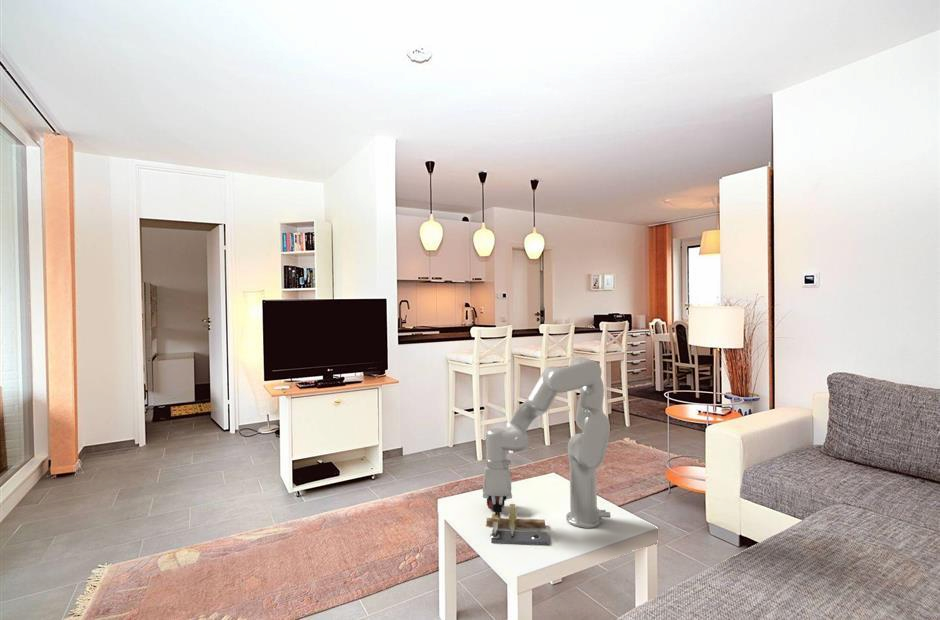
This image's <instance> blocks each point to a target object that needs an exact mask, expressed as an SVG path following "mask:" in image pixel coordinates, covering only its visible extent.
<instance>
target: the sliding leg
mask: <svg viewBox="0 0 940 620" xmlns="http://www.w3.org/2000/svg"><path fill="white" fill-rule="evenodd" d="M517 519H518V514H517V513H516V504H515V503H510V504H509V513H508V524H509V527H508V529H509V531H510V533H511V536H513V535H514V533H515V531H516V530H515V529H518V527H517Z"/></svg>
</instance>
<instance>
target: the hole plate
mask: <svg viewBox="0 0 940 620" xmlns="http://www.w3.org/2000/svg"><path fill="white" fill-rule="evenodd" d="M489 537H491V540H490V541H491V544H508V545H509V544H515V545H535V546H536V545H537V546H538V545H539V546H550V545H549V535H548V531H532V530H531V531H527V530H526V531H525V530H515V533H514V535H513V536H511V533H510V530H503V529H502V530H501V529H500V530H499V529H497V533H496V536H495V535H493V529H492V532H491V533H490V534H489Z"/></svg>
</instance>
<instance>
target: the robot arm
mask: <svg viewBox="0 0 940 620" xmlns="http://www.w3.org/2000/svg"><path fill="white" fill-rule="evenodd" d="M602 374H603V373H602V368H601V366H600V365H599V363H598V362H597V361H595V360H593V359H589V358H587V357H583V356H579V357H575V358H573V360H572V361H571V362H570V365H569V366H565V367H558V366H554V365H553V366H552V365H551V366H548V367H546V368H545V369H544V370H543V371H542V373H541V375H540V376H539V378H538V380H537V381H536V383H535V385H534V386H533V388H532V390H531V392H530V393H529V395H528V397H527V398H526V399H525V401H523V402H522V404H521V405H520V406H519V407H518V408H517V410H516V411H515V412H514V413H513V415H512V417H511V418H510V420H509V422H508V424H507V425H506V426H505V429H504V428H497V427H494V428H489V429H488V430H486V432H485V446H486V447H485V448H486V449H485V450H486V451H485V452H486V453H485V455H486V458H485V459H486V462H485V463H486V464H485V465H484V468H483V470H484V471H483V479H482V480H483V483H482V484H483V485H482V492H483V493H482V498H483V499H486V500H487V499H489V500H490V501H491V502H492V503H493V509H492V510H493V513H495V516H497V514H498V516H500V514H501V513H502V512H503V511H502V510H503V509H502V508H503V507H502V503H503V502H504V503H505V501H506V500H510V499H512V498H513V494H512V475H511V469H510V466H509V465H512V460H509V459H508V451H511V452H522V451H525V450H526V449H527V448H528V447H529V445H530V438H529V436H528V434H527V433H526V432H527V430H528V428H529V427H530V425H531V424H532V423H533V421H534V420H535V419H536V418H538V417H540V416H542V415H545V413H547V412H548V410H549V409H550V407H551V406H552V403H554V400H555V399H556V397H557V395H558V394H563V393H568V392H571V391H575V390H578V389H580V390H579V400H578V405H577V409H576V414H575V424H576V426H577V427H578V428H579V429H580V430H581V432H580V433H576V434H573V435H572V436H571V437H570V438H569V439H568V440H569V441H568V442H567V454H568V455H567V456H568V463H569V464H568V465H569V491H570V492H569V494H570V495H569V497H570V498H569V499H570V500H569V501H570V504H569V505H570V511H569V512H567V514H566V516H565V517H566V518H565V519H566V521H567V522H568V523H569V524H570V525H572V526H575V527H578V528H584V529H585V528H586V529H592V528H596V527H598V526H600V525H601V524H602V518H607V519H608V518H609V519H610V518H612V517H611V516H612V515H611V512H610V511H606V510H607V509H599V508H598V502H597V501H598V500H597V499H598V497H597V496H598V493H597V468H599V467H600V466H601V465H602V464H603V462H604V459H605V456H606V453H607V447H608V442H609V437H610V429H611V425H610V420H609V417H608V416H607V414H605V413H604V411H603V410H602V409H603V404H604V396H605V387H604V382H603V380H602V377H601V376H602ZM496 496H500V498H499V501H498V502H497V500H496Z"/></svg>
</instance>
